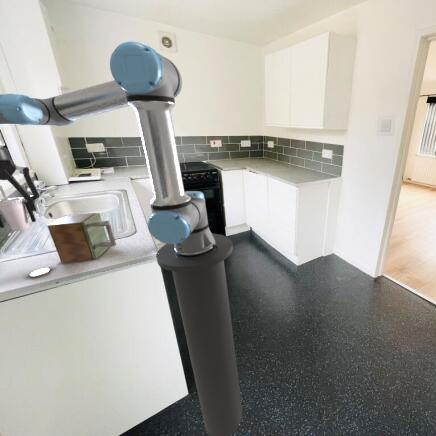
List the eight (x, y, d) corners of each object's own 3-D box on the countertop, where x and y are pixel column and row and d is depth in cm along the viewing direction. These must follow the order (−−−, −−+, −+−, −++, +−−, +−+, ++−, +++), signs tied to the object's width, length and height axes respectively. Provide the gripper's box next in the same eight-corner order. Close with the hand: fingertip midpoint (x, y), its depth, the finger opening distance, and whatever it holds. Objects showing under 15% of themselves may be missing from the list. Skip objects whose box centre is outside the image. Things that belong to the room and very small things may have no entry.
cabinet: (106, 246, 102) (95, 212, 96) (92, 259, 92) (80, 222, 86) (78, 249, 99) (66, 215, 94) (61, 263, 89) (46, 225, 84)
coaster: (53, 268, 86) (53, 267, 86) (44, 276, 82) (43, 274, 81) (36, 270, 85) (36, 269, 85) (26, 278, 80) (25, 277, 80)
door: (127, 244, 103) (118, 211, 98) (117, 256, 93) (106, 220, 88) (106, 246, 102) (96, 213, 97) (93, 259, 92) (81, 222, 87)
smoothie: (5, 229, 77) (-15, 186, 72) (33, 223, 82) (16, 182, 77) (7, 234, 73) (-13, 189, 69) (37, 228, 78) (19, 185, 73)
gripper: (34, 145, 78) (58, 213, 86) (-66, 149, 65) (-27, 228, 73) (33, 146, 73) (59, 219, 81) (-76, 150, 60) (-32, 236, 68)
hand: (18, 223), depth 77 cm, fingers closed on smoothie, 6 cm apart
